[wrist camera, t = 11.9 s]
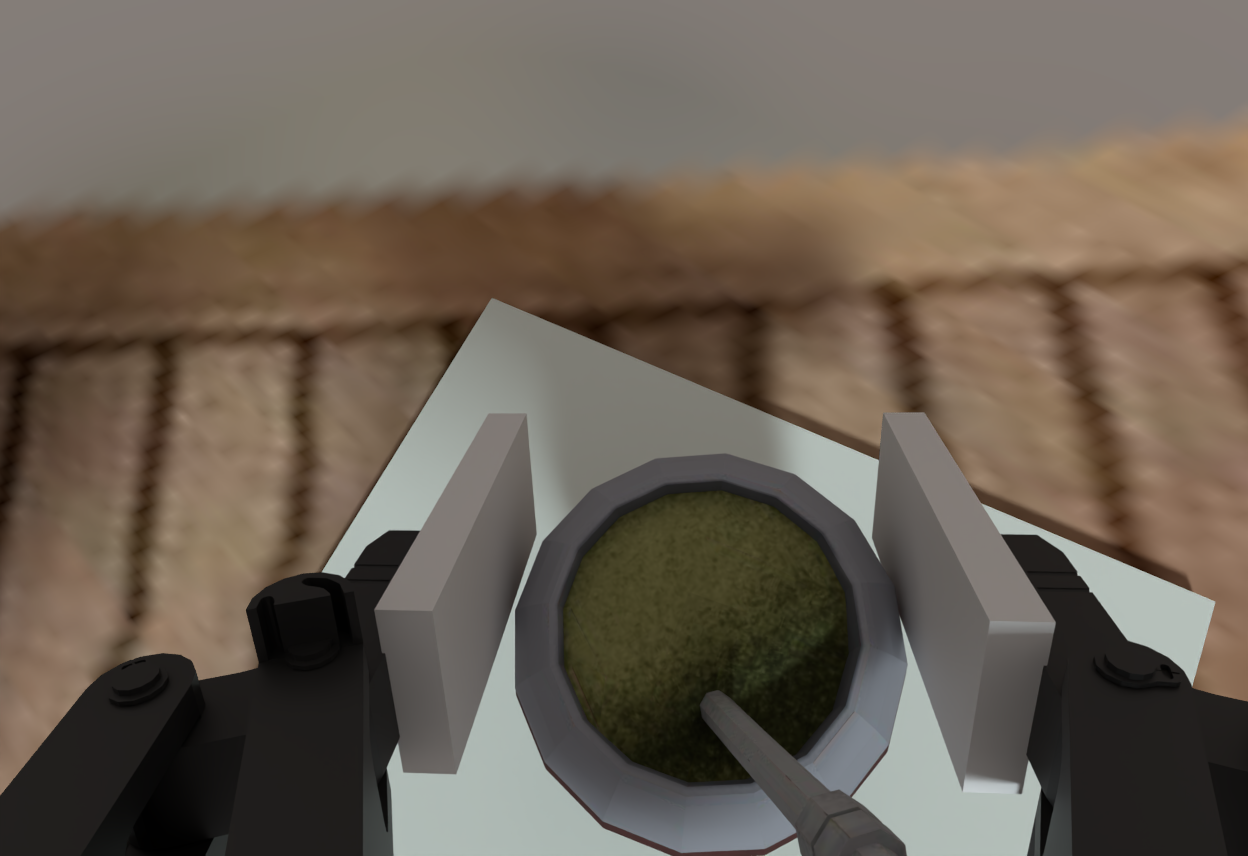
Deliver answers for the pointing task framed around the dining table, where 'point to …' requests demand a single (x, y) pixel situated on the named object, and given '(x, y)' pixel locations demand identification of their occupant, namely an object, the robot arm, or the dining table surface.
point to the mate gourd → (713, 661)
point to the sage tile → (606, 448)
